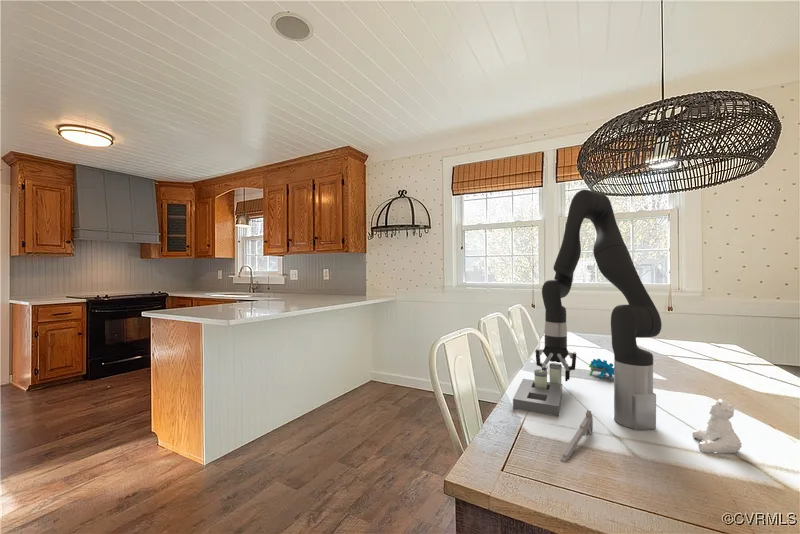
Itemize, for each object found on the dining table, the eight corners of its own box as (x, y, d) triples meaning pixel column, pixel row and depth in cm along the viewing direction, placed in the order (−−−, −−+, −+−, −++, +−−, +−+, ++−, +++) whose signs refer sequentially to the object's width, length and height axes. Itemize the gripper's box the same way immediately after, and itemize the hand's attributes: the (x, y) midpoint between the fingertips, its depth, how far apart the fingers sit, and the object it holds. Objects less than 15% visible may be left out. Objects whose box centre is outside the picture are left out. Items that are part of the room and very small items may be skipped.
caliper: (588, 431, 96) (588, 408, 96) (592, 433, 96) (592, 409, 96) (560, 461, 82) (560, 434, 82) (565, 463, 81) (565, 435, 81)
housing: (558, 416, 105) (558, 389, 105) (512, 408, 111) (512, 382, 111) (562, 392, 125) (562, 369, 125) (523, 386, 131) (523, 364, 131)
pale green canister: (563, 387, 130) (563, 365, 130) (553, 388, 129) (553, 366, 129) (557, 384, 134) (557, 362, 134) (547, 384, 133) (547, 363, 133)
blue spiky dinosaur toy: (624, 374, 140) (611, 358, 137) (619, 387, 137) (605, 371, 135) (598, 371, 150) (584, 356, 147) (592, 383, 147) (579, 367, 145)
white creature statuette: (690, 435, 94) (690, 389, 94) (734, 443, 90) (734, 395, 89) (699, 452, 85) (700, 402, 85) (748, 461, 81) (748, 408, 81)
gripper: (577, 333, 132) (577, 379, 132) (535, 330, 138) (535, 373, 138) (577, 337, 125) (577, 385, 125) (533, 333, 131) (533, 379, 132)
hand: (555, 379), depth 132 cm, fingers open, 6 cm apart
